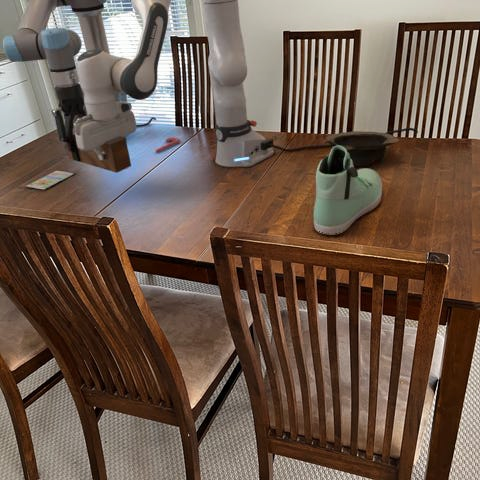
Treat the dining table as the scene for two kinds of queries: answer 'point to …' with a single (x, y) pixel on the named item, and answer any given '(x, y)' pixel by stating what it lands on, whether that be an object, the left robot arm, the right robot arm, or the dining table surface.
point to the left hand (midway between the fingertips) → (85, 156)
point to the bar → (114, 154)
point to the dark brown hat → (363, 145)
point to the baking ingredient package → (50, 180)
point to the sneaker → (343, 192)
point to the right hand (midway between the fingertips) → (112, 155)
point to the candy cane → (174, 139)
